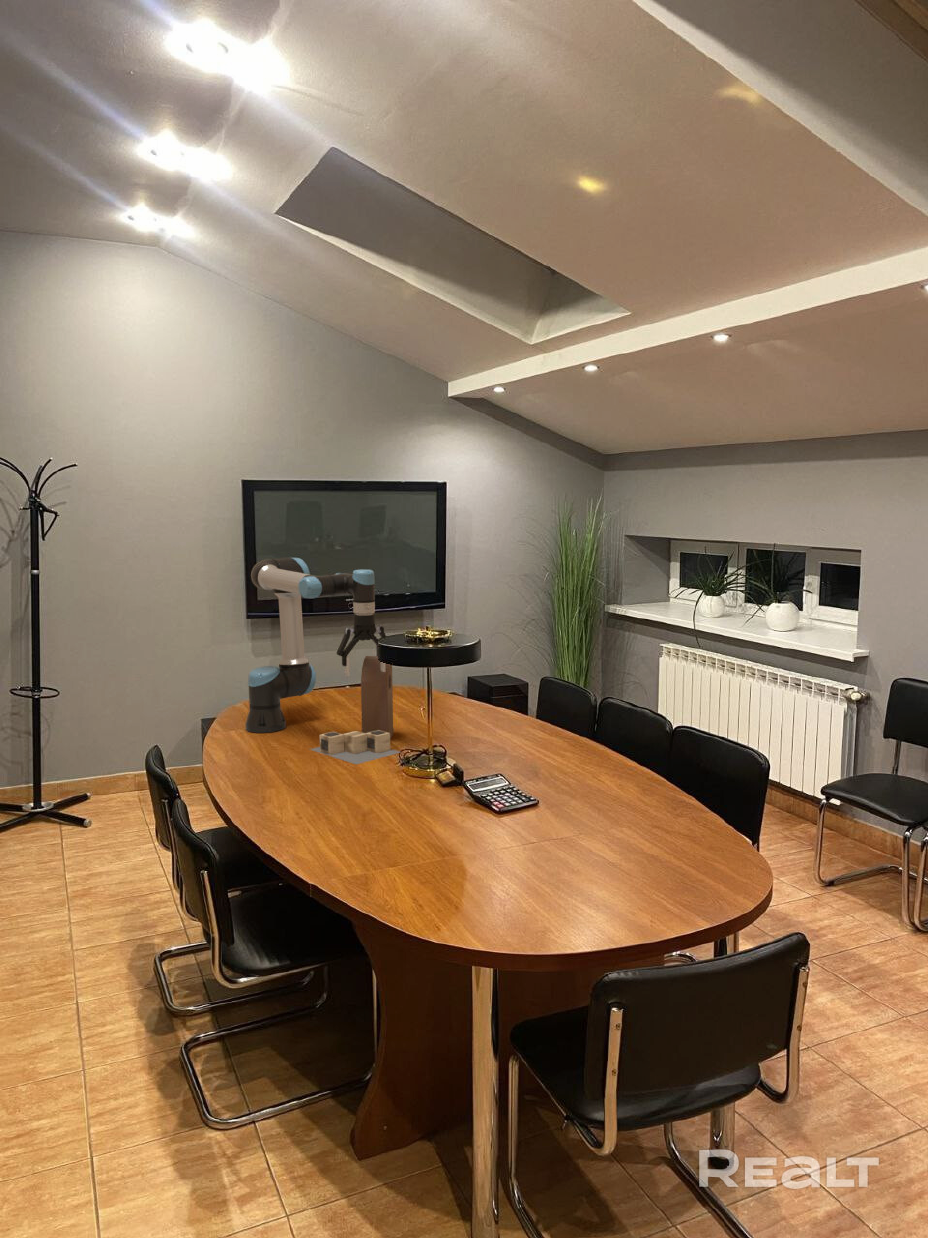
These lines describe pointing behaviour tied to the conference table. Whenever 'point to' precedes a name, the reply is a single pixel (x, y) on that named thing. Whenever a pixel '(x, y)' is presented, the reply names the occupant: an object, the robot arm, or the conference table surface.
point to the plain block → (355, 742)
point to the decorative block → (376, 696)
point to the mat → (359, 755)
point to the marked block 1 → (331, 743)
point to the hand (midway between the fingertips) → (365, 673)
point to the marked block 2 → (378, 741)
